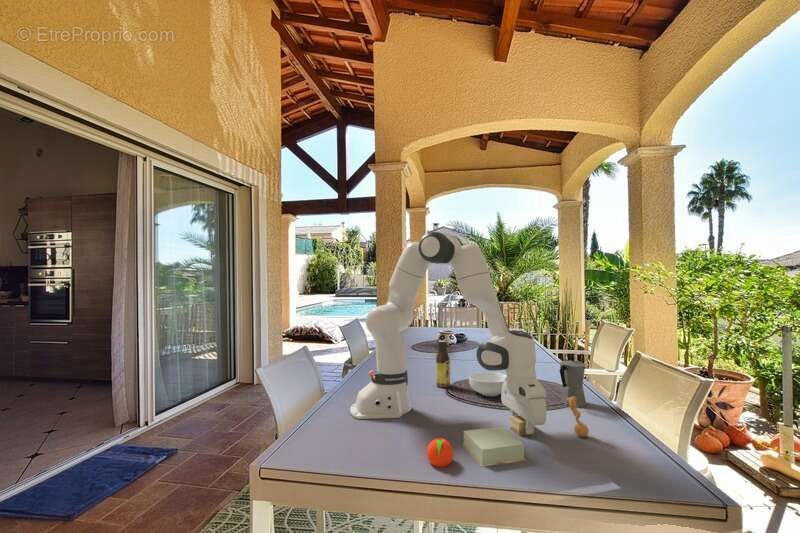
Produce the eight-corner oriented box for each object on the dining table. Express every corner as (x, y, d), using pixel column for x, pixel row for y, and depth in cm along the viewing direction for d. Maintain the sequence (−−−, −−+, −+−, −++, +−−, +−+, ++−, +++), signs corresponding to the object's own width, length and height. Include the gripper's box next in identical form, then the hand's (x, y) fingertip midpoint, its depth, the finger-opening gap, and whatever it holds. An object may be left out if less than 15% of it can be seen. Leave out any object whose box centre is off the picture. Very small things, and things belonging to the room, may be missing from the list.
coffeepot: (569, 396, 155) (568, 351, 156) (593, 402, 148) (592, 355, 148) (549, 405, 146) (548, 357, 146) (574, 412, 138) (573, 361, 139)
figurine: (587, 443, 113) (587, 402, 114) (565, 439, 116) (564, 399, 117) (589, 432, 121) (588, 394, 121) (568, 429, 124) (567, 391, 124)
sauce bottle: (449, 388, 168) (448, 342, 168) (435, 387, 169) (434, 342, 169) (450, 384, 174) (450, 340, 175) (436, 383, 176) (436, 339, 176)
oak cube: (519, 439, 117) (519, 422, 117) (510, 432, 122) (510, 416, 122) (534, 437, 118) (533, 421, 118) (525, 430, 123) (524, 415, 123)
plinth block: (482, 465, 99) (482, 449, 99) (463, 445, 111) (463, 430, 111) (524, 459, 102) (523, 444, 102) (501, 440, 114) (501, 426, 114)
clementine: (453, 476, 96) (452, 447, 96) (425, 474, 97) (424, 445, 97) (454, 460, 104) (453, 434, 104) (428, 459, 105) (427, 432, 105)
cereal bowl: (515, 391, 163) (515, 374, 163) (503, 402, 149) (503, 384, 149) (477, 385, 172) (477, 369, 172) (462, 395, 158) (462, 378, 158)
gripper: (496, 375, 129) (496, 417, 129) (530, 394, 109) (531, 443, 109) (513, 374, 131) (513, 415, 131) (550, 392, 111) (551, 441, 111)
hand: (522, 428), depth 120 cm, fingers closed on oak cube, 5 cm apart
